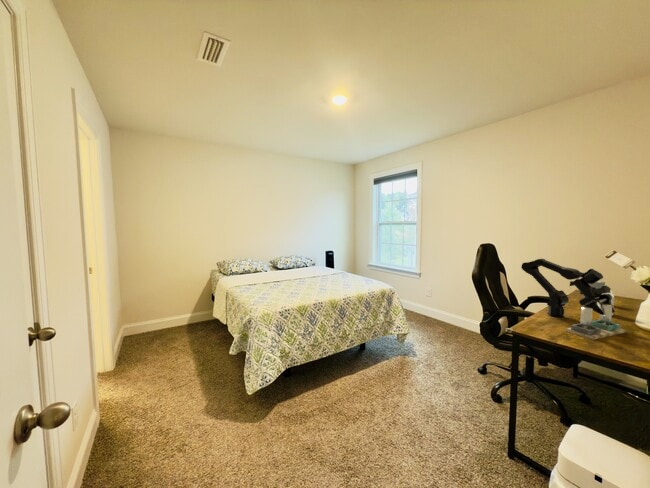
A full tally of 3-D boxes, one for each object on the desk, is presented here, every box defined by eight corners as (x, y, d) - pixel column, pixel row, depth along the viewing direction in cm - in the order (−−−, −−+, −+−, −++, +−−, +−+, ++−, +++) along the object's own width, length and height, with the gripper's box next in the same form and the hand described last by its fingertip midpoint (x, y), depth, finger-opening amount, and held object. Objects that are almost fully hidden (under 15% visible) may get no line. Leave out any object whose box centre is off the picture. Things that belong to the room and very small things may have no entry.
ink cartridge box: (593, 311, 182) (595, 288, 181) (602, 311, 181) (604, 289, 180) (604, 315, 174) (605, 292, 172) (613, 315, 173) (615, 292, 171)
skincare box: (582, 301, 203) (584, 279, 202) (589, 300, 205) (591, 279, 204) (597, 304, 195) (598, 282, 194) (604, 303, 197) (605, 281, 196)
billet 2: (598, 327, 152) (599, 304, 151) (599, 325, 154) (601, 303, 153) (609, 329, 148) (611, 306, 147) (611, 327, 151) (612, 304, 150)
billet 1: (582, 332, 145) (583, 308, 144) (578, 329, 149) (579, 306, 148) (593, 333, 143) (594, 309, 142) (588, 330, 147) (589, 307, 146)
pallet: (592, 339, 139) (593, 332, 139) (565, 330, 150) (565, 324, 150) (625, 332, 147) (626, 325, 147) (597, 324, 159) (597, 318, 158)
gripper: (587, 282, 150) (612, 308, 141) (609, 279, 156) (634, 304, 146) (569, 292, 158) (592, 318, 149) (591, 289, 164) (613, 314, 155)
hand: (608, 313), depth 149 cm, fingers open, 9 cm apart
